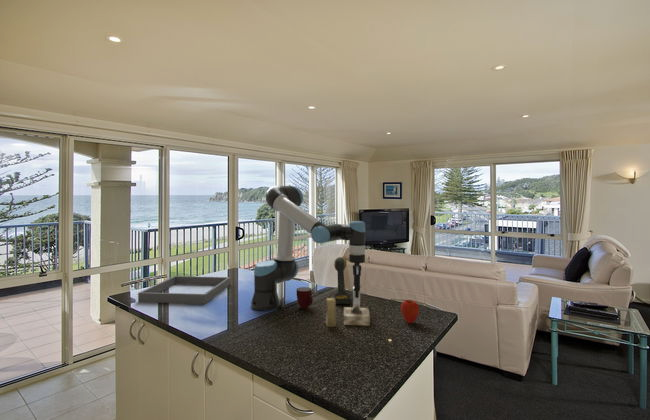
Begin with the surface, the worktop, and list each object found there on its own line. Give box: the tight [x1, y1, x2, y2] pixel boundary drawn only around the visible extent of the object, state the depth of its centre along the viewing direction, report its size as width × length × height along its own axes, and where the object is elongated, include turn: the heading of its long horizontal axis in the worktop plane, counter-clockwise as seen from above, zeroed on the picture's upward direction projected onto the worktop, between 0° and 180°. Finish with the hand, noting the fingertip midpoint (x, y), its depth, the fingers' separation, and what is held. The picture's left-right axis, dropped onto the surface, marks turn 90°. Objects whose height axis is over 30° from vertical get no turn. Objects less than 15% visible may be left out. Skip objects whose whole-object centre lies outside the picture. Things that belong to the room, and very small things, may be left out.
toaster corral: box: [137, 275, 231, 305], centre depth 195 cm, size 38×38×5 cm
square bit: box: [325, 297, 337, 328], centre depth 147 cm, size 4×4×12 cm
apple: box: [400, 299, 420, 324], centre depth 151 cm, size 9×8×11 cm
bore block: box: [343, 306, 371, 326], centre depth 154 cm, size 12×12×4 cm
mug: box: [296, 286, 314, 310], centre depth 169 cm, size 11×8×10 cm
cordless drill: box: [333, 256, 351, 305], centre depth 182 cm, size 9×20×25 cm, turn 174°
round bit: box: [352, 285, 361, 313], centre depth 153 cm, size 3×3×12 cm
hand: (356, 302), depth 153 cm, fingers closed on round bit, 3 cm apart
